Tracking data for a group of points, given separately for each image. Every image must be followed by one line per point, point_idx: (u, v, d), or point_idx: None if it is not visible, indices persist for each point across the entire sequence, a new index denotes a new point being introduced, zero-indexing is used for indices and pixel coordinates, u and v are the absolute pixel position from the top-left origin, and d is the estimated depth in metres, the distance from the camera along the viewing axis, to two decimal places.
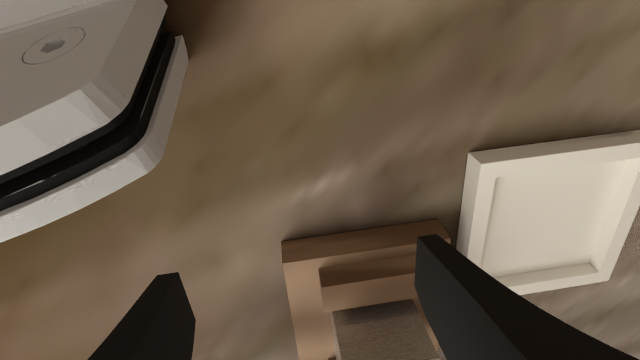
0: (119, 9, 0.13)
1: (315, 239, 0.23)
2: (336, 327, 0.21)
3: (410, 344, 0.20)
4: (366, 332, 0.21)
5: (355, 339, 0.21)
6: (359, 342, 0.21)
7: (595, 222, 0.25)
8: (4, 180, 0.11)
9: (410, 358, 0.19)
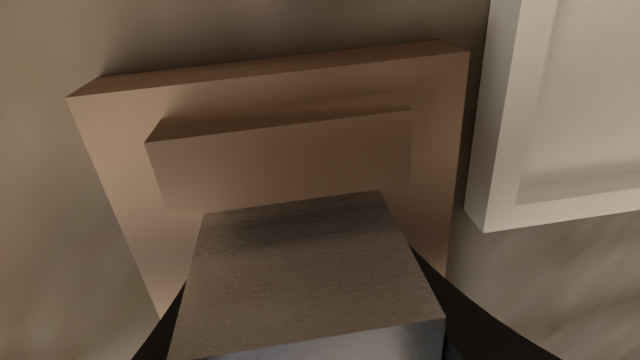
0: None
1: (170, 70, 0.10)
2: (197, 253, 0.09)
3: (368, 284, 0.08)
4: (263, 260, 0.09)
5: (233, 276, 0.08)
6: (239, 282, 0.08)
7: None
8: None
9: (364, 318, 0.07)
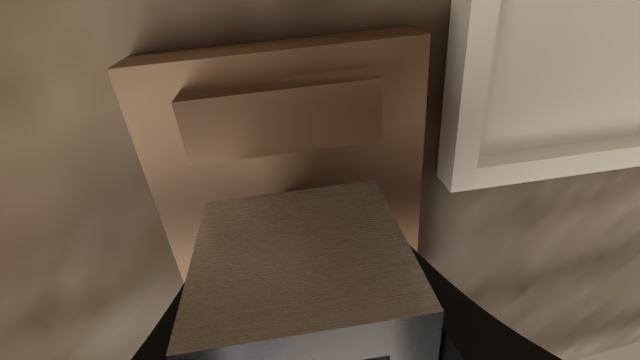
0: None
1: (187, 50, 0.13)
2: (197, 248, 0.09)
3: (367, 279, 0.08)
4: (263, 255, 0.09)
5: (232, 271, 0.08)
6: (238, 277, 0.08)
7: None
8: None
9: (362, 311, 0.07)
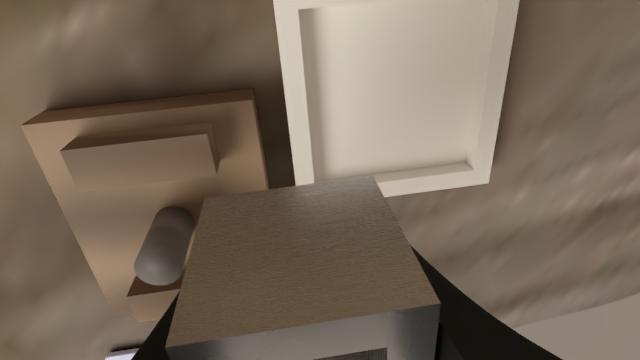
0: None
1: (86, 107, 0.18)
2: (195, 242, 0.09)
3: (365, 272, 0.08)
4: (261, 249, 0.09)
5: (231, 264, 0.08)
6: (237, 270, 0.08)
7: (463, 102, 0.20)
8: None
9: (360, 303, 0.07)
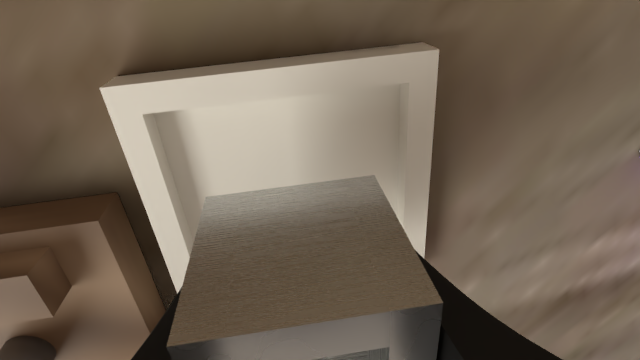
0: None
1: None
2: (197, 241, 0.09)
3: (366, 271, 0.08)
4: (263, 248, 0.09)
5: (232, 264, 0.08)
6: (239, 269, 0.08)
7: None
8: None
9: (362, 303, 0.07)
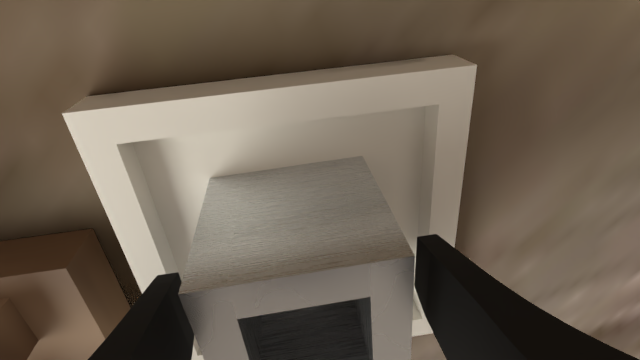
0: None
1: None
2: (202, 214, 0.10)
3: (350, 233, 0.09)
4: (260, 218, 0.10)
5: (234, 231, 0.09)
6: (239, 235, 0.09)
7: None
8: None
9: (345, 257, 0.08)
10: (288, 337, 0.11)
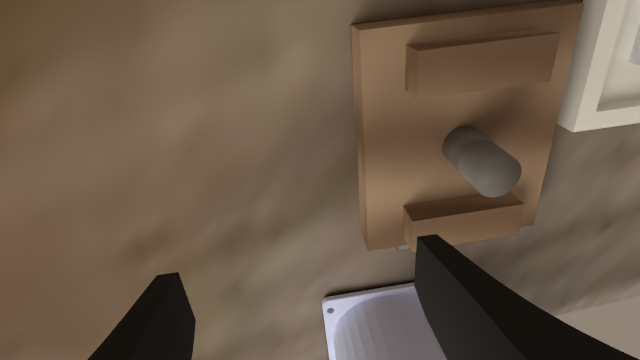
0: None
1: (395, 20, 0.17)
2: None
3: None
4: None
5: None
6: None
7: None
8: None
9: None
10: None
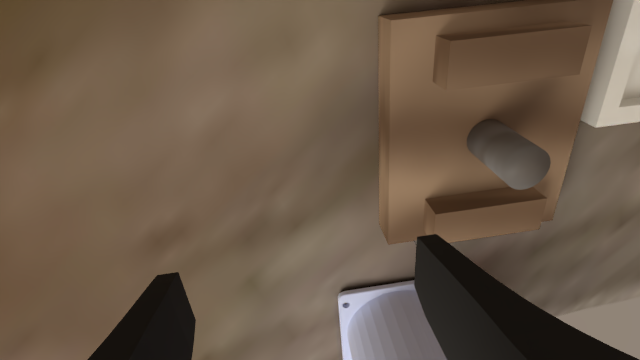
0: None
1: (424, 11, 0.17)
2: None
3: None
4: None
5: None
6: None
7: None
8: None
9: None
10: None
